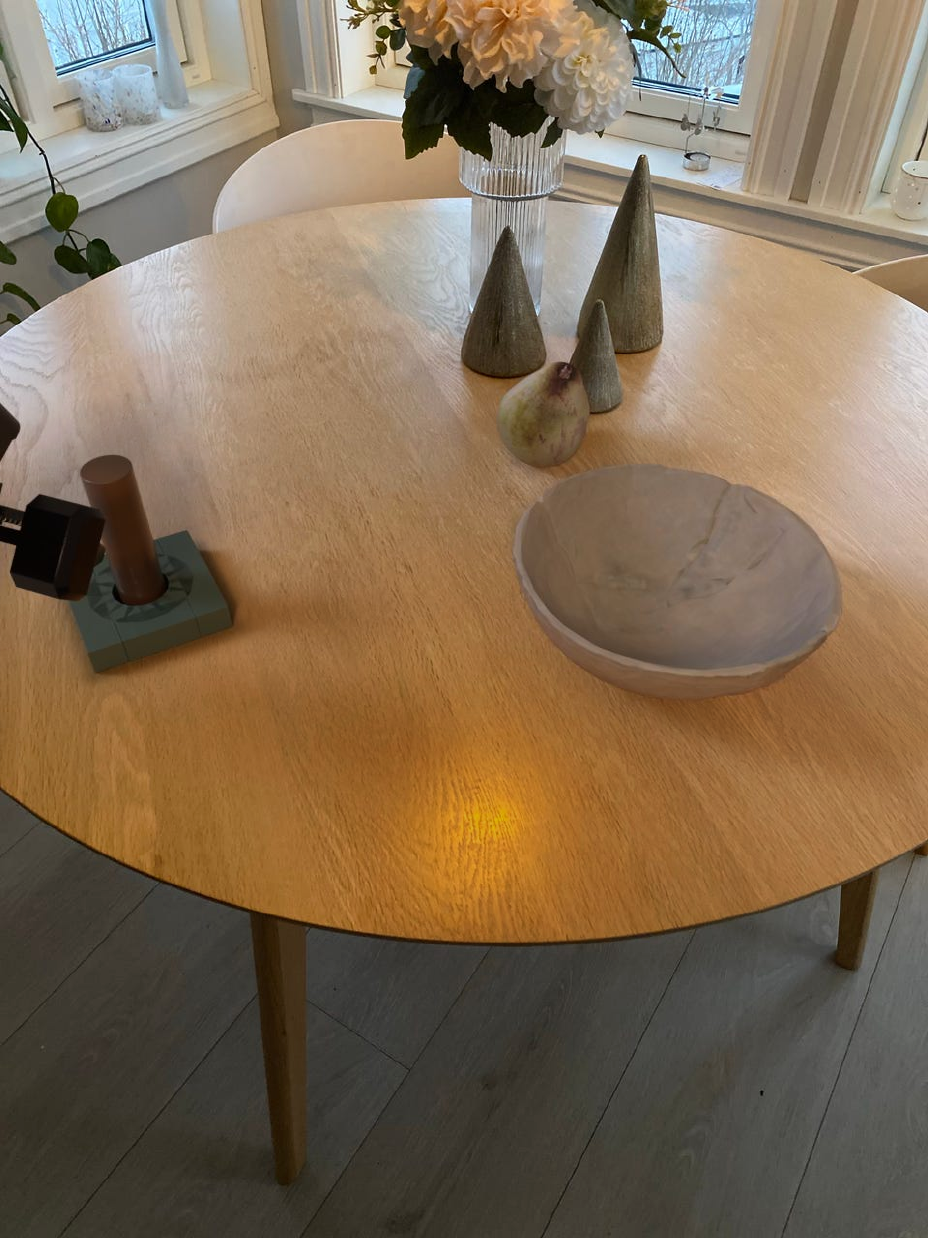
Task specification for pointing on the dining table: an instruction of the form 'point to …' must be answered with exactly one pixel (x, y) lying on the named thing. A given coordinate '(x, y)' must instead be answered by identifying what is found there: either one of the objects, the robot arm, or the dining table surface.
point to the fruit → (545, 415)
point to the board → (151, 608)
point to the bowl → (675, 581)
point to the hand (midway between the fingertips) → (50, 540)
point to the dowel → (124, 529)
